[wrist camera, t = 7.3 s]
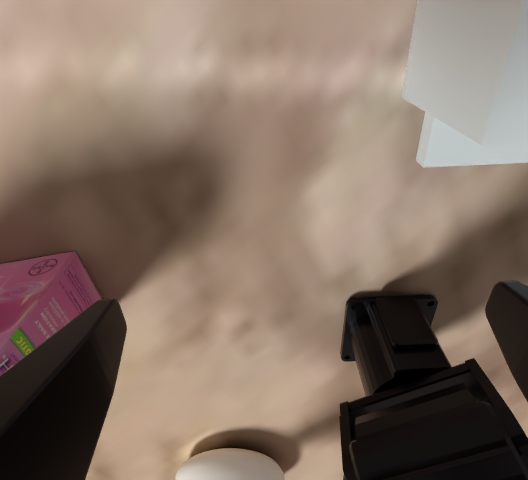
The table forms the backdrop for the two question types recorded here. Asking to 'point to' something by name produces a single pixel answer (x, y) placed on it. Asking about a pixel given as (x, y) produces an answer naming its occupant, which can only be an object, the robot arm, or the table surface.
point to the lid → (470, 81)
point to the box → (40, 301)
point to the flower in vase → (230, 466)
